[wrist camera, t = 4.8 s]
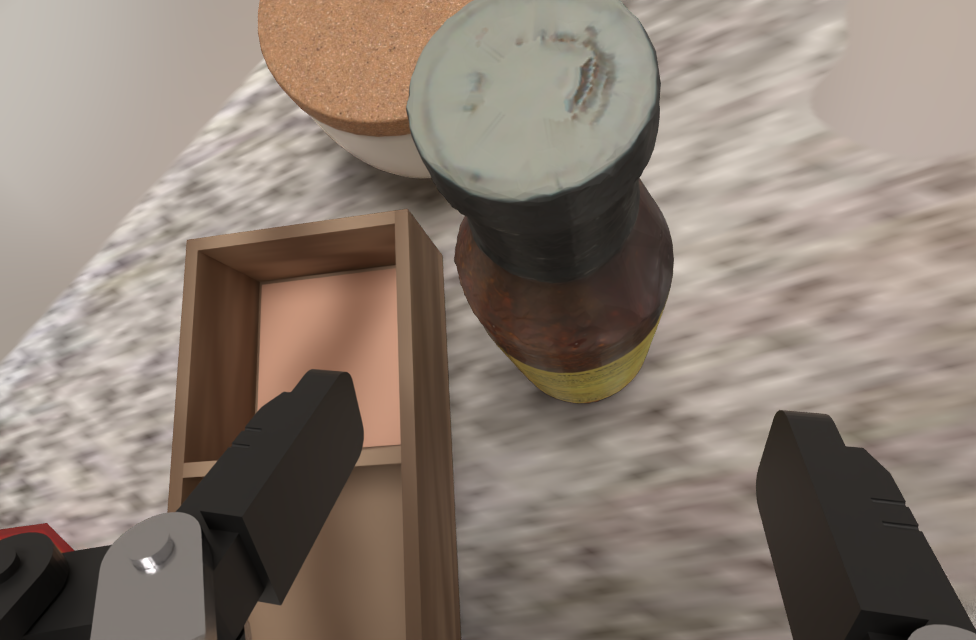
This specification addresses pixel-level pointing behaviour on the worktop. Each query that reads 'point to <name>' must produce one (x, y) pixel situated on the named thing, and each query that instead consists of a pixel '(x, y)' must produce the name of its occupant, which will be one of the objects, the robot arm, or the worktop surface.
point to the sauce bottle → (550, 183)
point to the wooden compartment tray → (381, 398)
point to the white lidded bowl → (354, 69)
